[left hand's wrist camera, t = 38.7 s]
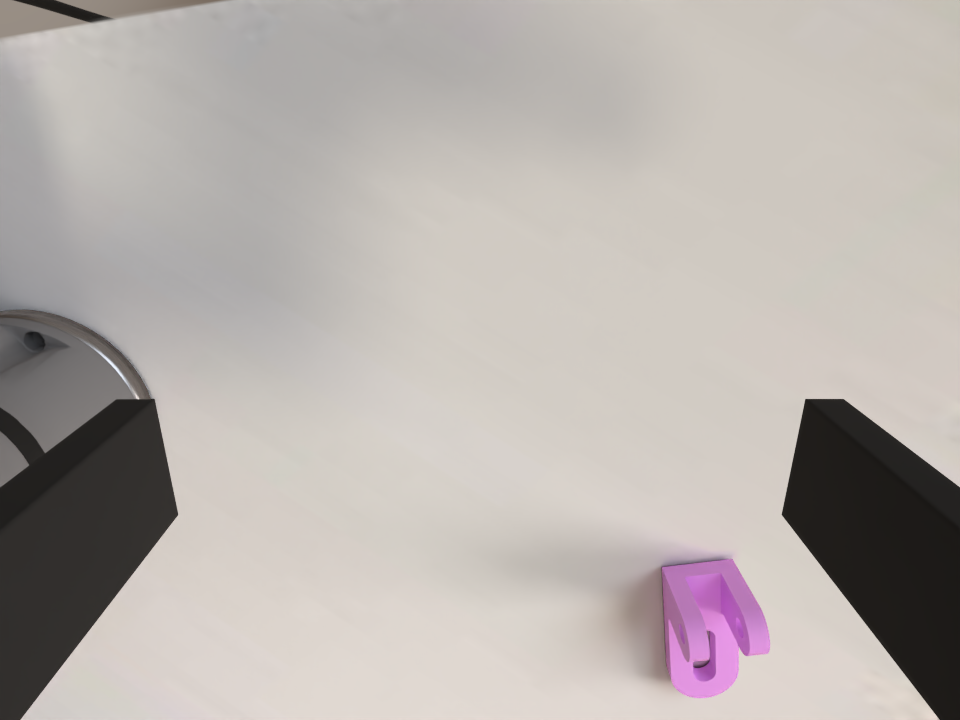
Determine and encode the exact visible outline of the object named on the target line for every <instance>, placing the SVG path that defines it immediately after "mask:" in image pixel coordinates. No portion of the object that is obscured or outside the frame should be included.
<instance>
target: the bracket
mask: <svg viewBox="0 0 960 720" xmlns="http://www.w3.org/2000/svg"><path fill="white" fill-rule="evenodd" d="M662 582H663V603H664V623H665V644H666V664H667V669H668V672H669V674H670V677H671V680H672V683H673V685H674V687H675V688H676V689H677V690H678V691H679V692H681V693H682V694H684V695H686V696H689V697H694V698H707V697H712V696H715V695H718V694H720V693H722V692H724V691H725V690H727V689H728V688H729V687H730V686H731V685H732V684H733V683H734V682H735V680H736V678H737V676H738V664H739V647H740V649H741V651H742V653H743V654H744V655H745V656H751V655H760V654H768V653H769V650H770V638H769V632H768V627H767V624H766V620H765V617H764V615H763V612H762V610H761V608H760V606H759V604H758V603H757V601H756V599H755V597H754V596H753V594H752V592H751V591H750V589H749V587H748V585H747V584H746V582H745V580H744V578H743V577H742V575H741V573H740V572H739V570H738V568H737V566H736V565H735V563H734V561H733V559H728V560H719V561H711V562H702V563H693V564H685V565H676V566H667V567H662ZM707 630H708V631H710V647H709V640H708V635H707ZM709 657H710V661H709V663H708V664H707V665H706V666H704V667H702V668H694V667H693V662H695V661H704V660H709Z"/></svg>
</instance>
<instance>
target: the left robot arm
mask: <svg viewBox="0 0 960 720" xmlns="http://www.w3.org/2000/svg"><path fill="white" fill-rule="evenodd" d="M14 1H17V2H21V3H25V4H28V5H32V6H36V7H39V8H43V9H46V10H49V11H53V12H56V13H59V14H63V15H66V16H69V17H73V18H76V19H79V20H83V21H86V22H89V23H95V22H101V21H106V20H112V19H113V18H110V17H106V16H103V15H100V14H97V13H93V12H90V11H87V10H84V9H81V8H78V7H75V6H72V5H68V4H66V3H63V2H60V1H57V0H14ZM177 516H178V511H177V507H176V502H175V497H174V492H173V487H172V482H171V477H170V472H169V468H168V463H167V458H166V453H165V448H164V443H163V438H162V433H161V429H160V424H159V419H158V414H157V409H156V404H155V399H151V398H150V395H149V393H148V391H147V388H146V386H145V385H144V383H143V381H142V379H141V377H140V376H139V374H138V373H137V371H136V370H135V369H134V367H133V366H132V365H131V364H130V362H129V361H128V360H127V359H126V358H125V357H124V356H123V355H122V353H121V352H119V351H118V350H117V349H116V348H115V347H114V346H113V345H112V344H111V343H109V342H108V341H107V340H105V339H104V338H103V337H101V336H100V335H98V334H97V333H95V332H94V331H92V330H90V329H88V328H87V327H85V326H83V325H81V324H79V323H77V322H74V321H72V320H70V319H67V318H64V317H61V316H58V315H54V314H51V313H46V312H41V311H33V310H9V311H2V312H0V720H20V719H21V718H22V717H23V715H24V714H25V713H26V712H27V710H28V709H29V708H30V706H31V705H32V704H33V702H34V701H35V700H36V699H37V697H38V696H39V695H40V693H41V692H42V691H43V690H44V688H45V687H46V686H47V684H48V683H49V682H50V680H51V679H52V678H53V677H54V675H55V674H56V673H57V671H58V670H59V669H60V667H61V666H62V665H63V664H64V662H65V661H66V660H67V658H68V657H69V656H70V654H71V653H72V652H73V651H74V649H75V648H76V647H77V645H78V644H79V643H80V642H81V640H82V639H83V638H84V636H85V635H86V634H87V632H88V631H89V630H90V629H91V627H92V626H93V625H94V623H95V622H96V621H97V619H98V618H99V617H100V616H101V614H102V613H103V612H104V610H105V609H106V608H107V606H108V605H109V604H110V603H111V601H112V600H113V599H114V597H115V596H116V595H117V593H118V592H119V591H120V590H121V588H122V587H123V586H124V584H125V583H126V582H127V581H128V579H129V578H130V577H131V575H132V574H133V573H134V571H135V570H136V569H137V568H138V566H139V565H140V564H141V562H142V561H143V560H144V558H145V557H146V556H147V555H148V553H149V552H150V551H151V549H152V548H153V547H154V545H155V544H156V543H157V542H158V540H159V539H160V538H161V536H162V535H163V534H164V533H165V531H166V530H167V529H168V527H169V526H170V525H171V523H172V522H173V521H174V520H175V518H176V517H177ZM782 516H783V517H784V518H785V520H786V521H787V522H788V523H789V525H790V526H791V527H792V529H793V530H794V531H795V533H796V534H797V535H798V536H799V538H800V539H801V540H802V542H803V543H804V544H805V545H806V547H807V548H808V549H809V551H810V552H811V553H812V555H813V556H814V557H815V558H816V560H817V561H818V562H819V564H820V565H821V566H822V568H823V569H824V570H825V571H826V573H827V574H828V575H829V577H830V578H831V579H832V581H833V582H834V583H835V584H836V586H837V587H838V588H839V590H840V591H841V592H842V594H843V595H844V596H845V597H846V599H847V600H848V601H849V603H850V604H851V605H852V606H853V608H854V609H855V610H856V612H857V613H858V614H859V616H860V617H861V618H862V619H863V621H864V622H865V623H866V625H867V626H868V627H869V629H870V630H871V631H872V632H873V634H874V635H875V636H876V638H877V639H878V640H879V642H880V643H881V644H882V645H883V647H884V648H885V649H886V651H887V652H888V653H889V654H890V656H891V657H892V658H893V660H894V661H895V662H896V664H897V665H898V666H899V667H900V669H901V670H902V671H903V673H904V674H905V675H906V677H907V678H908V679H909V680H910V682H911V683H912V684H913V686H914V687H915V688H916V690H917V691H918V692H919V693H920V695H921V696H922V697H923V699H924V700H925V701H926V702H927V704H928V705H929V706H930V708H931V709H932V710H933V712H934V713H935V714H936V715H937V717H938V718H939V719H940V720H960V487H959V486H957V485H956V484H955V483H953V482H952V481H951V480H949V479H948V478H947V477H945V476H944V475H943V474H941V473H940V472H939V471H938V470H936V469H935V468H934V467H932V466H931V465H930V464H928V463H927V462H926V461H924V460H923V459H922V458H920V457H919V456H918V455H916V454H915V453H914V452H912V451H911V450H910V449H909V448H907V447H906V446H905V445H903V444H902V443H901V442H899V441H898V440H897V439H895V438H894V437H893V436H891V435H890V434H889V433H887V432H886V431H885V430H884V429H882V428H881V427H880V426H878V425H877V424H876V423H874V422H873V421H872V420H870V419H869V418H868V417H866V416H865V415H864V414H862V413H861V412H860V411H858V410H857V409H856V408H855V407H853V406H852V405H851V404H849V403H848V402H847V401H845V400H844V399H805V404H804V409H803V414H802V419H801V424H800V429H799V433H798V438H797V443H796V448H795V453H794V458H793V463H792V468H791V472H790V477H789V482H788V487H787V492H786V497H785V502H784V507H783V511H782Z"/></svg>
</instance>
